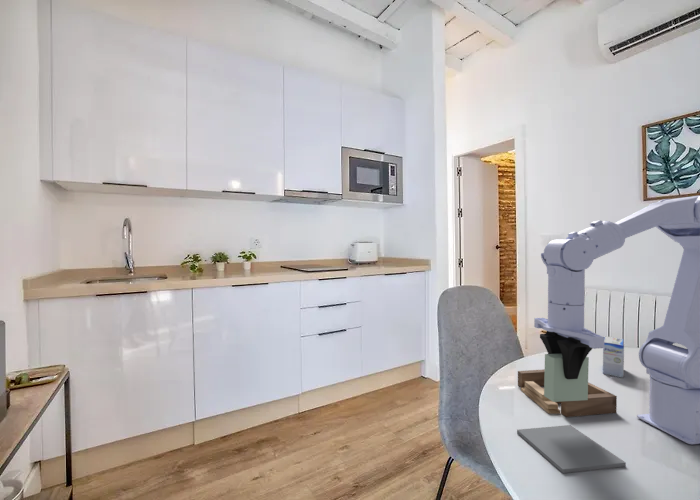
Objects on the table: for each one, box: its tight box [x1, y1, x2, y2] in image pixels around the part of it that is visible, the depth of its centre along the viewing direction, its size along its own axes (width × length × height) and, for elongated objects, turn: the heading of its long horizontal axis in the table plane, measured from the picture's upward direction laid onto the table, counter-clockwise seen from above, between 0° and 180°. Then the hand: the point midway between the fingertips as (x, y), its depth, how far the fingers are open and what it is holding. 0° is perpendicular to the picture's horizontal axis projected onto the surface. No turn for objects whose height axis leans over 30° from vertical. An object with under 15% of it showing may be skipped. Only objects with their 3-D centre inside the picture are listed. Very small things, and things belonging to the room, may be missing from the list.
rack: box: [517, 368, 618, 418], centre depth 76 cm, size 16×12×4 cm
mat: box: [516, 424, 627, 474], centre depth 57 cm, size 11×11×1 cm
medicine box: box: [602, 336, 625, 378], centre depth 91 cm, size 8×4×9 cm, turn 141°
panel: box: [543, 353, 590, 402], centre depth 62 cm, size 2×7×8 cm, turn 98°
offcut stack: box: [520, 381, 561, 415], centre depth 74 cm, size 11×2×3 cm, turn 1°
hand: (565, 375), depth 62 cm, fingers closed on panel, 2 cm apart
